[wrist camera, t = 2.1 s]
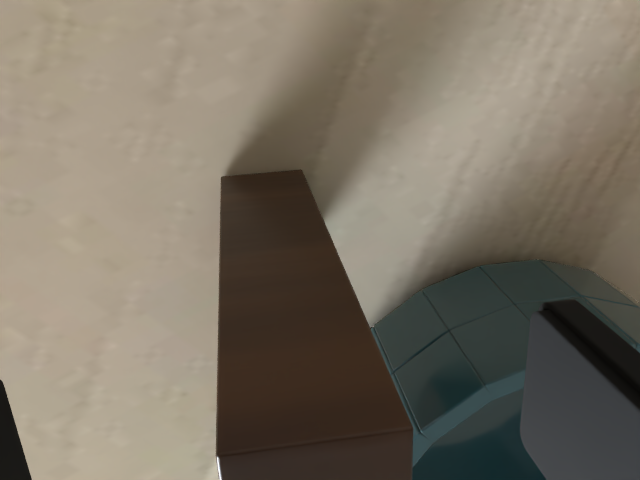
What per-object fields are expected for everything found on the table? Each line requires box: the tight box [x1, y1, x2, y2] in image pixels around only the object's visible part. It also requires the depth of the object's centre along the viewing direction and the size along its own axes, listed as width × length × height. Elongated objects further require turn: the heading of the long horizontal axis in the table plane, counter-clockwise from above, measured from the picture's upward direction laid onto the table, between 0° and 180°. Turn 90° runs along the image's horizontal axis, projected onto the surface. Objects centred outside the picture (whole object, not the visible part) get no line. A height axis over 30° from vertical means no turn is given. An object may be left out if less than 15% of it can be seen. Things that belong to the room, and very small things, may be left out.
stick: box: [216, 170, 413, 480], centre depth 13 cm, size 2×2×12 cm
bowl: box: [371, 259, 640, 480], centre depth 21 cm, size 13×13×6 cm
